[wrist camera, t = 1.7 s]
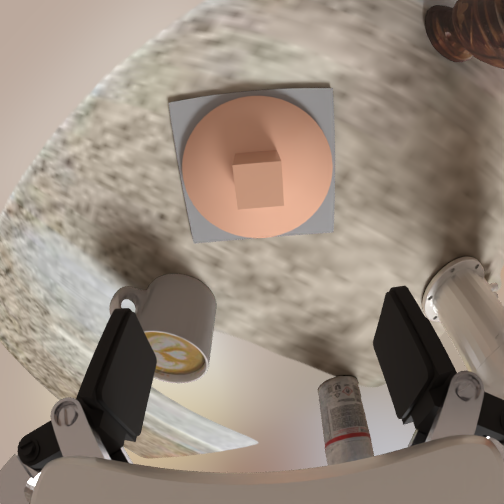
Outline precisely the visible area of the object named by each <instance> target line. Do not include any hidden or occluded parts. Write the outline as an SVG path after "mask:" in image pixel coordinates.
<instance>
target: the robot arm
mask: <svg viewBox="0 0 504 504" xmlns="http://www.w3.org/2000/svg"><path fill="white" fill-rule="evenodd" d="M497 289H498V284H497V283H491V284H489V283H488V282H487V281H486V280H485V279H484V269H483V266H482V265H481V263H480V262H479V261H478V260H477V259H475V258H473V257H468V256H467V257H461V258H458V259H456V260H454V261H452V262H450V263H449V264H447V265H446V266H444V267H443V268H442V269H441V270H440V271H439V272H438V273H437V274H436V275H435V276H434V277H433V279H432V280H431V282H430V283H429V285H428V287H427V289H426V290H425V293H424V296H423V301H422V308H423V311H424V313H425V315H426V316H427V317H428V318H429V319H430V320H432V321H436V322H441V323H442V325H443V327H444V328H445V330H446V332H447V333H448V335H449V337H450V339H451V341H452V342H453V344H454V346H455V348H456V350H457V351H458V353H459V355H460V357H461V359H462V361H463V363H464V365H465V367H466V369H467V371H461V372H458V373H457V372H456V370H455V368H454V366H453V364H452V362H451V360H450V358H449V356H448V354H447V352H446V350H445V349H444V347H443V345H442V343H441V341H440V339H439V337H438V335H437V334H436V332H435V330H434V328H433V327H432V325H431V323H430V321H429V320H428V319H427V318H426V317H425V316H424V314H423V313H422V311H421V309H420V307H419V306H418V304H417V302H416V301H415V299H414V297H413V296H412V294H411V293H410V291H409V289H408V288H407V287H406V286H400V287H393V288H391V289H390V291H389V292H387V293H386V295H385V299H384V303H383V307H382V311H381V315H380V319H379V322H378V326H377V329H376V333H375V336H374V340H373V346H374V350H375V352H376V355H377V358H378V361H379V363H380V366H381V369H382V372H383V375H384V378H385V381H386V384H387V387H388V390H389V392H390V396H391V398H392V402H393V405H394V408H395V411H396V415H397V417H398V418H399V419H402V421H403V424H408V423H411V422H414V425H415V428H416V430H415V432H414V434H413V437H412V439H411V441H410V443H409V445H408V447H407V448H404V449H401V450H397V451H393V452H390V453H386V454H382V455H377V456H373V457H369V458H365V459H360V460H356V461H351V462H346V463H340V464H335V465H329V466H322V467H316V468H308V469H298V470H289V471H277V472H258V473H257V472H256V473H215V472H197V471H183V470H174V469H165V468H158V467H151V466H144V465H137V464H133V463H132V461H131V460H130V458H129V456H128V454H127V452H126V451H125V449H124V447H123V445H124V440H128V441H134V442H136V437H137V436H139V435H140V433H141V430H142V425H143V420H144V416H145V411H146V407H147V402H148V398H149V394H150V389H151V385H152V381H153V377H154V373H155V369H156V365H157V358H156V355H155V353H154V351H153V349H152V347H151V345H150V343H149V341H148V339H147V337H146V335H145V333H144V331H143V329H142V327H141V325H140V322H139V320H138V318H137V316H136V314H135V313H134V312H132V311H131V310H130V309H129V308H116V309H114V311H113V313H112V315H111V317H110V319H109V321H108V323H107V325H106V328H105V330H104V332H103V334H102V336H101V339H100V341H99V343H98V346H97V348H96V350H95V352H94V355H93V357H92V360H91V362H90V364H89V367H88V369H87V372H86V374H85V377H84V379H83V382H82V384H81V387H80V390H79V392H78V395H77V398H76V399H74V398H71V397H68V398H63V399H61V400H59V401H58V402H57V403H56V404H55V405H54V407H53V409H52V411H51V421H49V422H47V423H46V424H44V425H42V426H41V427H39V428H37V429H36V430H34V431H32V432H31V433H29V434H27V435H26V436H24V437H23V438H22V439H21V441H20V442H19V445H18V455H16V454H14V455H13V456H12V457H11V458H10V460H9V461H8V462H7V463H6V464H5V465H4V466H3V468H2V469H1V470H0V503H1V504H504V306H503V305H502V304H501V302H500V301H499V300H498V294H497V293H496V292H492V291H496V290H497Z"/></svg>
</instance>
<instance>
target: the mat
mask: <svg viewBox="0 0 504 504" xmlns="http://www.w3.org/2000/svg"><path fill="white" fill-rule="evenodd" d="M247 96H268V97H274V98H278V99H282V100H284V101H287V102H289V103H292V104H294V105H295V106H297V107H299V108H300V109H302V110H303V111H304V112H306V113H307V114H308V115H310V117H311V118H312V119H313V120H314V121H315V122H316V123H317V124H318V125H319V127H320V128H321V130H322V131H323V133H324V135H325V137H326V139H327V141H328V144H329V147H330V150H331V155H332V163H333V171H332V179H331V184H330V187H329V190H328V193H327V195H326V197H325V199H324V201H323V203H322V204H321V206H320V207H319V208H318V210H317V211H316V212H315V213H314V214H313V215H312V216H311V217H310V218H309V219H308V220H307V221H306V222H304V223H303V224H301V225H300V226H299V227H297V228H295V229H293V230H291V231H289V232H286V233H284V234H281V235H277V236H290V235H303V234H316V233H330V232H333V230H334V202H335V130H334V103H333V88H291V89H270V90H256V91H245V92H235V93H226V94H218V95H211V96H204V97H198V98H192V99H186V100H180V101H175V102H170V103H169V110H170V116H171V123H172V129H173V136H174V142H175V148H176V154H177V159H178V165H179V171H180V176H181V181H182V187H183V192H184V197H185V202H186V207H187V212H188V217H189V222H190V227H191V232H192V236H193V241H194V243H204V242H216V241H227V240H239V239H252V238H248V237H242V236H237V235H234V234H231V233H228V232H226V231H224V230H221V229H219V228H218V227H216V226H215V225H213V224H212V223H210V222H209V221H208V220H207V219H205V218H204V217H203V216H202V215H201V214H200V213H199V211H198V210H197V209H196V207H195V206H194V205H193V203H192V201H191V200H190V198H189V196H188V193H187V191H186V188H185V184H184V181H183V173H182V160H183V154H184V150H185V147H186V144H187V141H188V139H189V137H190V135H191V133H192V131H193V130H194V128H195V127H196V125H197V124H198V123H199V122H200V121H201V120H202V119H203V117H205V116H206V115H207V114H208V113H209V112H211V111H212V110H213V109H215V108H217V107H218V106H220V105H222V104H224V103H226V102H228V101H230V100H234V99H237V98H240V97H247ZM277 236H273V237H277Z"/></svg>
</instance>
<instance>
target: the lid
mask: <svg viewBox="0 0 504 504" xmlns="http://www.w3.org/2000/svg"><path fill="white" fill-rule="evenodd" d="M332 171H333V163H332V155H331V150H330V147H329V144H328V141H327V139H326V137H325V135H324V133H323V131H322V130H321V128H320V127H319V125H318V124H317V123H316V122H315V121H314V120H313V119H312V118H311V117H310V115H308V114H307V113H306V112H304V111H303V110H302V109H300V108H299V107H297V106H295V105H294V104H292V103H289V102H287V101H284V100H282V99H278V98H274V97H268V96H247V97H240V98H237V99H234V100H230V101H228V102H226V103H224V104H222V105H220V106H218V107H217V108H215V109H213V110H212V111H211V112H209V113H208V114H207V115H206V116H205V117H203V119H202V120H201V121H200V122H199V123H198V124H197V125H196V127H195V128H194V130H193V131H192V133H191V135H190V137H189V139H188V141H187V144H186V147H185V150H184V154H183V160H182V173H183V181H184V184H185V188H186V191H187V193H188V196H189V198H190V200H191V201H192V203H193V205H194V206H195V207H196V209H197V210H198V211H199V213H200V214H201V215H202V216H203V217H204V218H205V219H207V220H208V221H209V222H210V223H212V224H213V225H215V226H216V227H218V228H219V229H221V230H224V231H226V232H228V233H231V234H234V235H237V236H242V237H248V238H266V237H273V236H277V235H281V234H284V233H286V232H289V231H291V230H293V229H295V228H297V227H299V226H300V225H301V224H303V223H304V222H306V221H307V220H308V219H309V218H310V217H311V216H312V215H313V214H314V213H315V212H316V211H317V210H318V208H319V207H320V206H321V204H322V203H323V201H324V199H325V197H326V195H327V193H328V190H329V187H330V184H331V179H332Z"/></svg>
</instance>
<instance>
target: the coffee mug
mask: <svg viewBox="0 0 504 504" xmlns="http://www.w3.org/2000/svg"><path fill="white" fill-rule="evenodd" d="M124 299H129V300H131V301H132V302H133V303H134V305H135V308H136V311H135V314H136V316H137V318H138V320H139V322H140V325H141V327H142V329H143V331H144V333H145V335H146V337H147V339H148V341H149V343H150V345H151V347H152V349H153V351H154V353H155V355H156V358H157V365H156V369H155V373H154V377H153V378H155V379H158V380H161V381H165V382H171V383H188V382H192V381H195V380H198V379H199V378H201V377H203V376H204V375H205V374H206V372H207V370H208V366H209V360H210V352H211V344H212V336H213V329H214V321H215V314H216V300H215V297H214V295H213V293H212V292H211V290H210V289H209V288H208V287H207V286H206V285H205V284H203V283H202V282H201V281H199V280H197V279H195V278H193V277H190V276H187V275H183V274H166V275H163V276H160V277H158V278H156V279H155V280H154V281H152V283H151V284H150V285H149V287H148V289H147V290H141V289H137V288H134V287H131V286H125V287H122V288H120V289H119V290H118V291H117V292H116V293H115V294H114V296H113V298H112V300H111V303H110V315H112V313H113V311H114V309H116V308H121V303H122V301H123V300H124Z"/></svg>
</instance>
